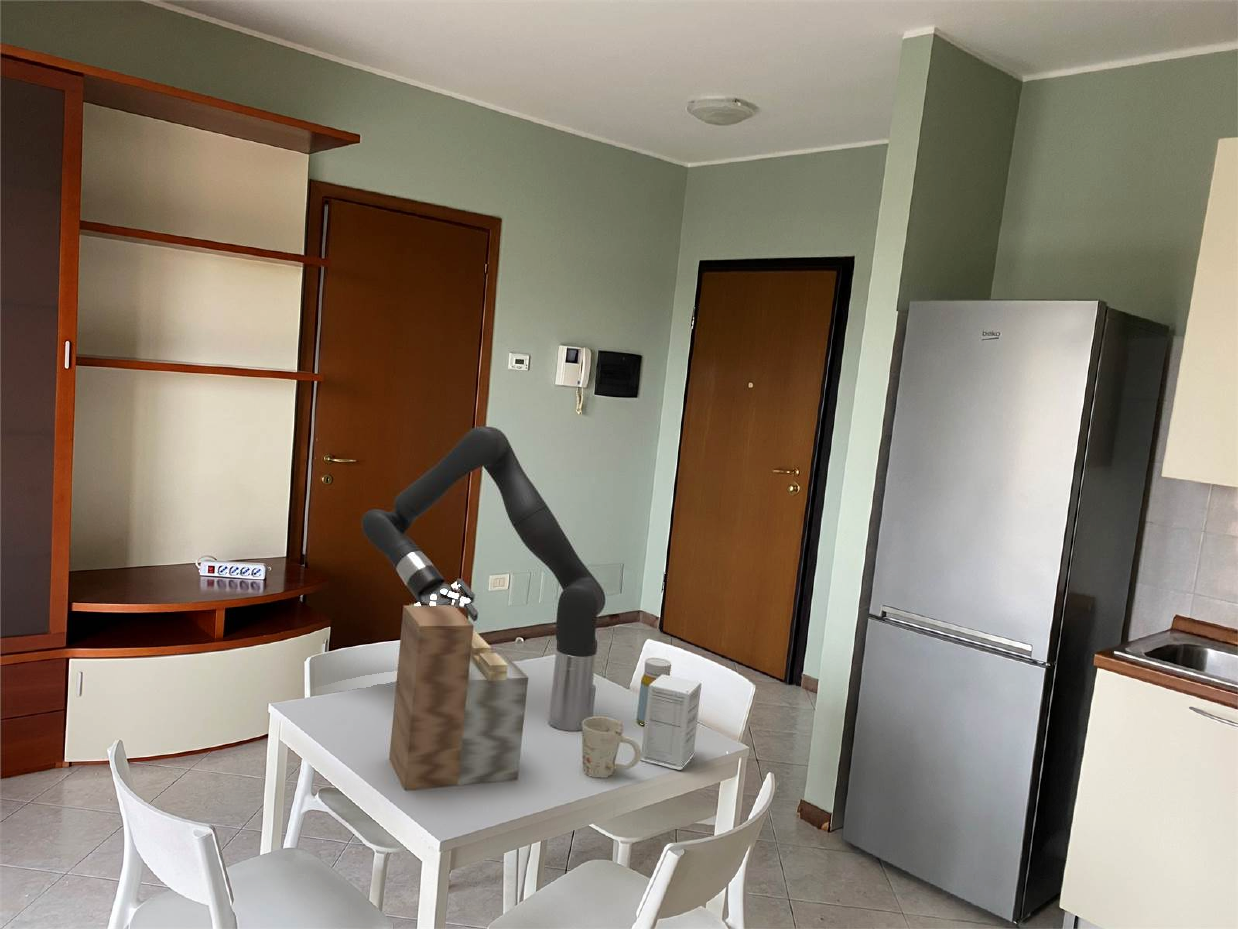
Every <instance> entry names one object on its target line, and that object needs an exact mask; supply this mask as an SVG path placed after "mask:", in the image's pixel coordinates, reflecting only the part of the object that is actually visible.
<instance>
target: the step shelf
mask: <svg viewBox="0 0 1238 929" xmlns="http://www.w3.org/2000/svg"><path fill="white" fill-rule="evenodd" d="M402 607H403V610H402V619H401V630H400V641H399V642H400V643H399V650H398V651H399V652H398V661H397V662H398V663H397V673H396V683H395V692H394V693H395V694H394V695H395V696H394V704H393V716H392V723H391V724H392V725H391V734H390V736H391V737H390V748H389V757H388V758H389V761H390V763H391V765H392V767H393V769H394V771H395V774H396V776H397V777H398V779H399V781H400V784H401V786H402V787H403V788H402V789H403V790H404V791H410V790H411V791H412V790H421V789H432V788H441V787H443V788H444V787H452V786H453V787H455V786H462V785H472V784H474V785H475V784H484V783H495V782H494V781H497V782H503V781H502V780H508V781H516V780H515V779H519V771H520V760H521V748H522V741H523V740H522V739H523V731H524V723H525V711H526V702H527V696H528V684H529V676H527V674H525V673H524V672H523V670H522V669H521V668H520V667H519V666H517V664H516V663H515V662H514V661H512V659H511V658H510V657H508V656H507V654H498V655H499V656H500V657H501V658H502V659H503V660H504V661H505V662H506V663H507V664H508V668H507V678H506V680H498V681H488V680H487V679H486V677H485V676H484V675H483V674H482V673H481V672H480V671H479V669H478V668H477V667H476V666H475V665H474V664H473V663H472V661H471V660H470V657H471V647H472V637H473V630H474V628H475V627H474V626H475V625H474V624H473V623H472V622H471V621H470V620H469V619H468V618H467V617H466V616H465V615H464V614H463V613H462V612H461V611H460V610H459V609H458V607H455V606H454V605H415V606H409V605H403V606H402Z"/></svg>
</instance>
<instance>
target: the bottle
mask: <svg viewBox="0 0 1238 929" xmlns="http://www.w3.org/2000/svg"><path fill="white" fill-rule="evenodd" d="M671 669H672V662H671V661H670V660H668V659H665V658H660V657H647V658H646V659H645V661H644V670H643V672H644V673H643V674H642V677H641V679H640V685H639V686H640V687H639V696H638V703H637V704H638V705H637V712H636V721H637V723H638V722H639V723H641V724H643V725H645V715H646V707H647V698H648V689H649V685H650V684H651V683H652V682H653V681H655V680H656V679H657V678H658V677H660V676H661V675H662V674H663V675H668V676H671V671H672V670H671ZM639 723H638V724H639Z"/></svg>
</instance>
